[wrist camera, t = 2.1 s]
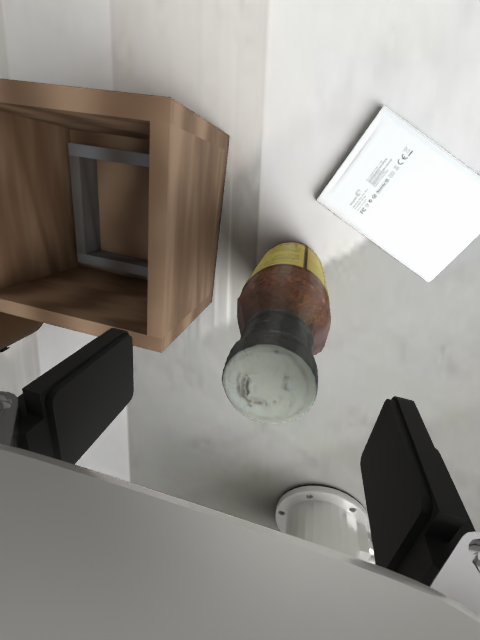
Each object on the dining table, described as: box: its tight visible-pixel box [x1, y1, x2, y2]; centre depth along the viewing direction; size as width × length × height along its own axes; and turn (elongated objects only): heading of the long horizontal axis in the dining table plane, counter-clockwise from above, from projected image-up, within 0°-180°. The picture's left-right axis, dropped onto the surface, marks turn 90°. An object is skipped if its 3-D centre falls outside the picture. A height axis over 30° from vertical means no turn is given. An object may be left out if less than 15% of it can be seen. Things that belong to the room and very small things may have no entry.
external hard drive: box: [317, 105, 480, 282], centre depth 26 cm, size 2×8×12 cm
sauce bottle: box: [222, 242, 331, 424], centre depth 21 cm, size 6×6×20 cm
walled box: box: [0, 79, 229, 353], centre depth 26 cm, size 17×16×12 cm
